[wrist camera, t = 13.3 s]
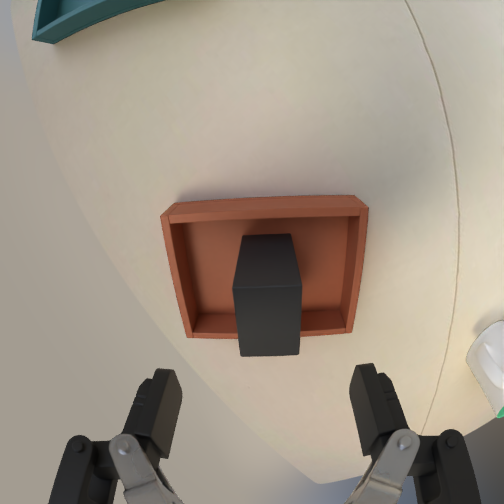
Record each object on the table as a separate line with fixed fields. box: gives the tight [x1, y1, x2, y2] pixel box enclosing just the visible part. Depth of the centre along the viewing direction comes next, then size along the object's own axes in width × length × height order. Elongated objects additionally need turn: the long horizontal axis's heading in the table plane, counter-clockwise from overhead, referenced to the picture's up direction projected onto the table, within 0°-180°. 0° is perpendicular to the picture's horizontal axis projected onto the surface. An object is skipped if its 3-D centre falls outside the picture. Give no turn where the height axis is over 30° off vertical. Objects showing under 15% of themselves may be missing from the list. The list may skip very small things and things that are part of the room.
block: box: [232, 233, 303, 357], centre depth 18 cm, size 4×5×7 cm
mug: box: [466, 321, 504, 418], centre depth 21 cm, size 12×8×10 cm
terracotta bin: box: [160, 195, 369, 339], centre depth 20 cm, size 13×10×3 cm
